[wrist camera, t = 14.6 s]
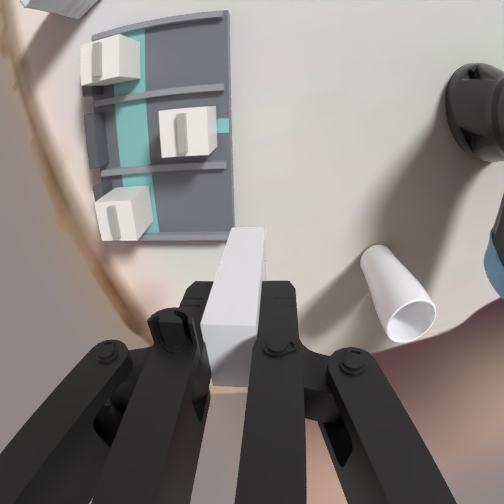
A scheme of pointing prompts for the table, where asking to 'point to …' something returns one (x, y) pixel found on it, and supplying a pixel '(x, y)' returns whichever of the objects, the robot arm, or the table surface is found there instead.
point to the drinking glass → (397, 295)
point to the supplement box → (61, 6)
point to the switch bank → (148, 132)
